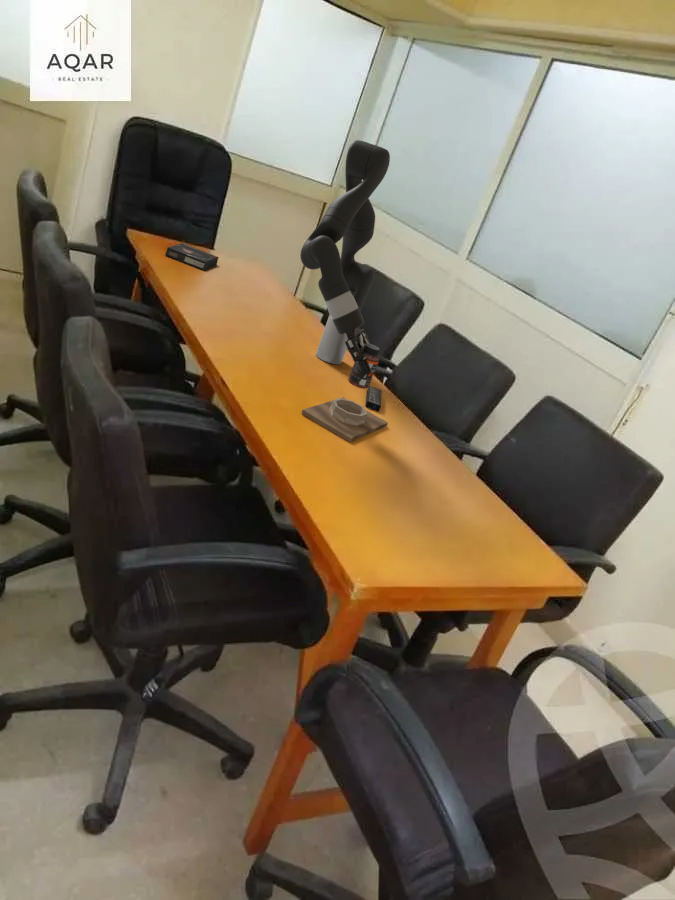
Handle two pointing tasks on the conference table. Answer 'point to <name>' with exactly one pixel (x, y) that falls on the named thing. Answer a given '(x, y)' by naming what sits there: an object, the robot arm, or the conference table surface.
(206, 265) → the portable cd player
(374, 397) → the multiport hub
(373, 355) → the supplement bottle
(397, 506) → the conference table surface
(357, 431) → the ring stand
